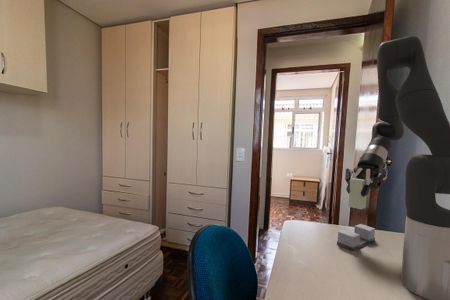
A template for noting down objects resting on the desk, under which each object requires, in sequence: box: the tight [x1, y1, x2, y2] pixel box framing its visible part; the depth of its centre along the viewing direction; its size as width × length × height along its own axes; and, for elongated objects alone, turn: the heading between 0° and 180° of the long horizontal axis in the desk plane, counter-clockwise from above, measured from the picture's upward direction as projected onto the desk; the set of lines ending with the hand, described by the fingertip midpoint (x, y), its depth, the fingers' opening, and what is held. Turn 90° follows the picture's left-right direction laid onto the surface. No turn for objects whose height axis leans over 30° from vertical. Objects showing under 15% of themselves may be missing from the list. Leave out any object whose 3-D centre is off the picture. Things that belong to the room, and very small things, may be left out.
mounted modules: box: [337, 223, 376, 248], centre depth 78 cm, size 5×16×4 cm, turn 124°
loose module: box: [348, 178, 368, 210], centre depth 78 cm, size 4×4×10 cm
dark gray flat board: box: [336, 237, 376, 252], centre depth 78 cm, size 6×16×1 cm, turn 124°
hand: (355, 193), depth 77 cm, fingers closed on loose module, 4 cm apart
